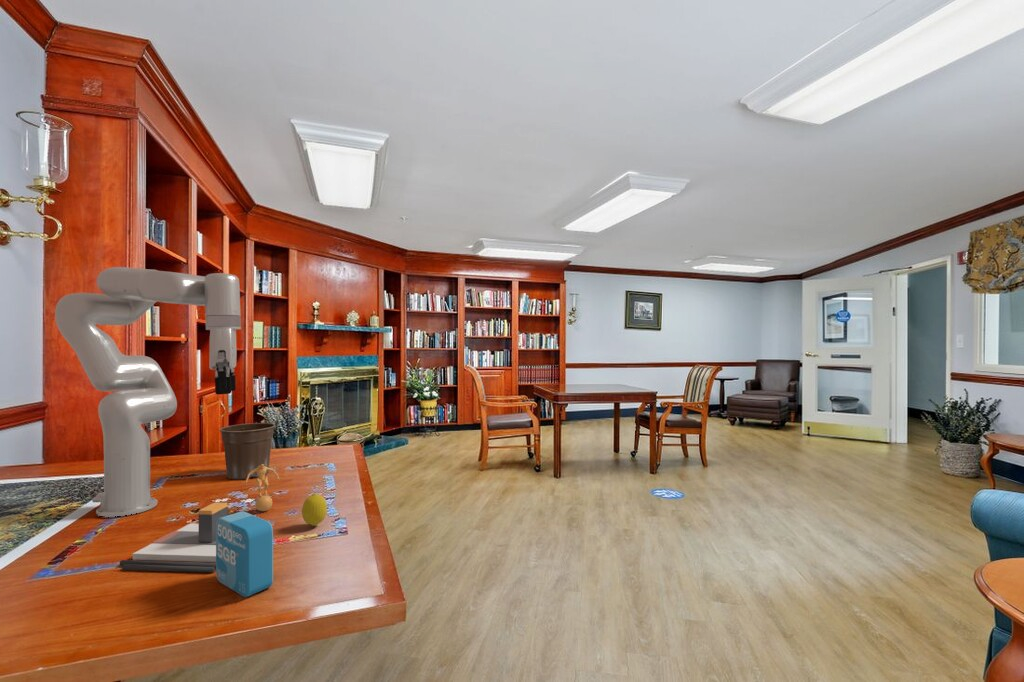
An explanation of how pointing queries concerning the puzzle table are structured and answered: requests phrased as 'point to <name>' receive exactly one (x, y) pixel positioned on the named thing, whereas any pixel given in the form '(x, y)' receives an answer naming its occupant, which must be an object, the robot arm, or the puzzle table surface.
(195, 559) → the panel
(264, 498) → the figurine
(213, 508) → the toggle
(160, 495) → the puzzle table surface
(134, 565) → the cords
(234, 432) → the plant pot
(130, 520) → the puzzle table surface
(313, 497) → the lemon
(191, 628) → the puzzle table surface
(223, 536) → the data package
